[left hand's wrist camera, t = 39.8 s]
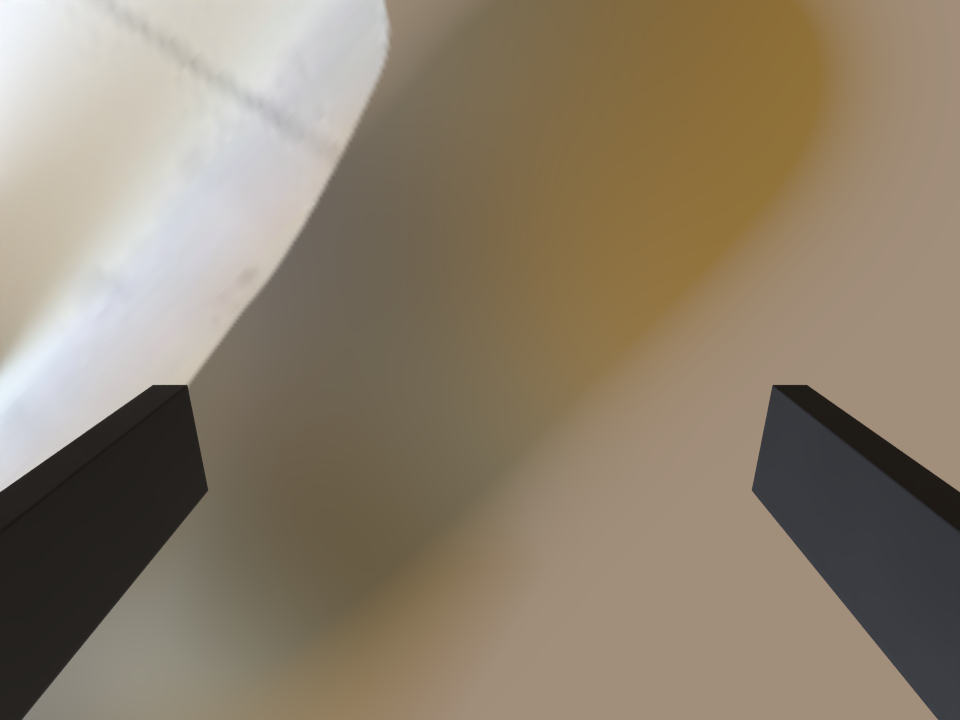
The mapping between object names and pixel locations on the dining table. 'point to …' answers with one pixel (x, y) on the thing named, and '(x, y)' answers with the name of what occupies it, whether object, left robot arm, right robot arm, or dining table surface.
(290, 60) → the dining table surface
